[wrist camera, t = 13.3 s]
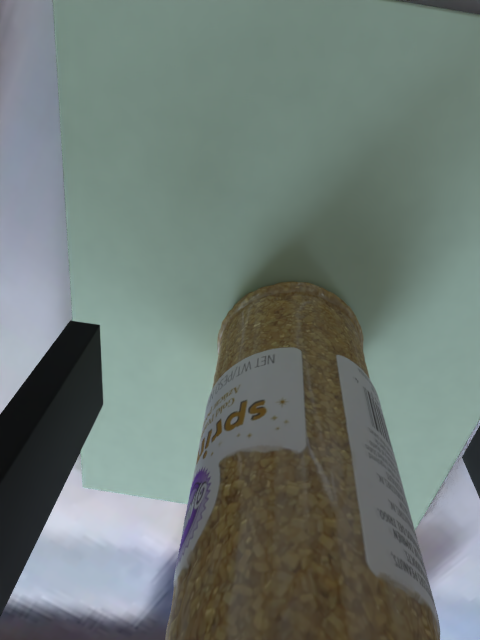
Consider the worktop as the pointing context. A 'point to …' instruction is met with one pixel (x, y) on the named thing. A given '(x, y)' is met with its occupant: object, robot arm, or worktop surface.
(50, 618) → the worktop surface
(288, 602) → the spice bottle
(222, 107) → the mat
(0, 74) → the worktop surface
